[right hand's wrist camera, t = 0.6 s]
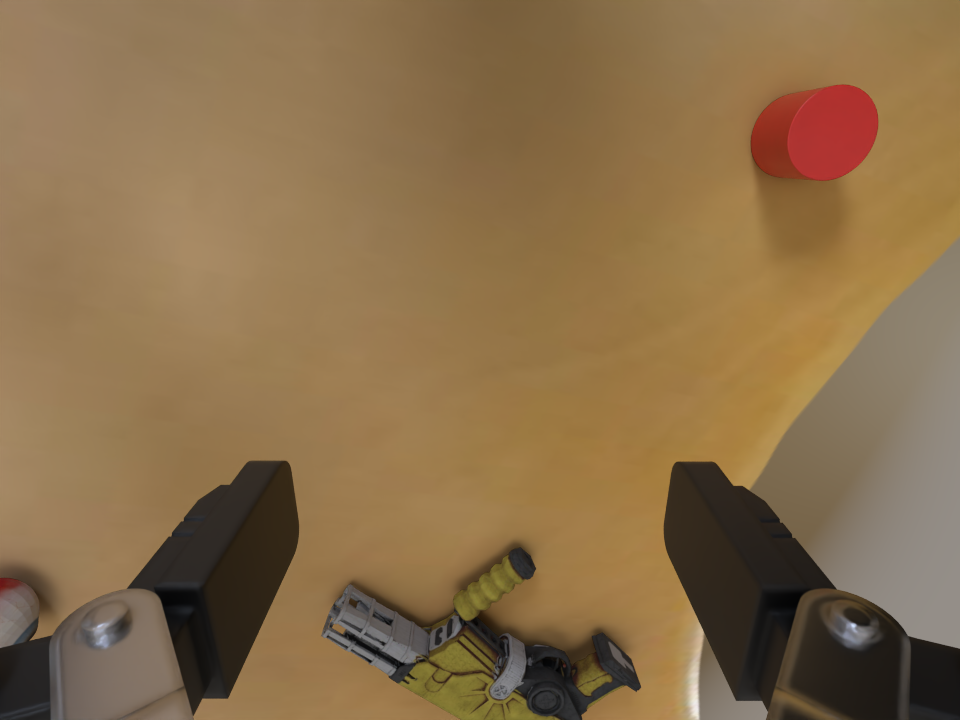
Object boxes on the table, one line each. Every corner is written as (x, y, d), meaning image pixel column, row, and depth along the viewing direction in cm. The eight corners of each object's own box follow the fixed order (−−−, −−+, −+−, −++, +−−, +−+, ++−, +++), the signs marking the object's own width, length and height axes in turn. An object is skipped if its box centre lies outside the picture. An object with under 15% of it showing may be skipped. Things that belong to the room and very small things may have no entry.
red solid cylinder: (772, 193, 35) (810, 198, 31) (736, 128, 34) (772, 124, 30) (843, 144, 34) (892, 143, 30) (809, 75, 33) (856, 63, 28)
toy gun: (427, 507, 40) (316, 646, 43) (673, 667, 44) (556, 783, 47) (431, 477, 44) (331, 604, 47) (653, 624, 48) (548, 733, 51)
